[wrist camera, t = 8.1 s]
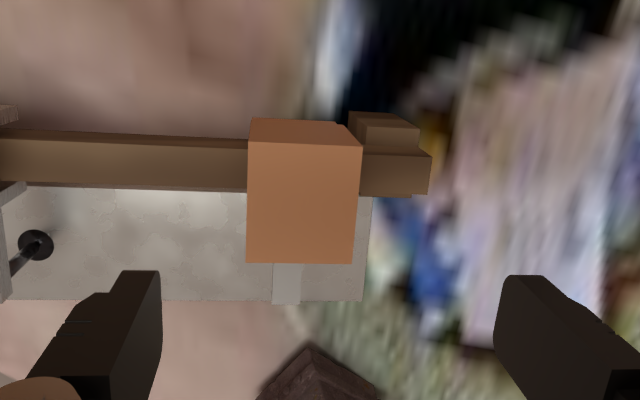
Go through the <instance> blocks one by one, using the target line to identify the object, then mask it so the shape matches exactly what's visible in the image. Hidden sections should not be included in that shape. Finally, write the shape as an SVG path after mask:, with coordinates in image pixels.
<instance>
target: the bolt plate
mask: <svg viewBox="0 0 640 400" xmlns="http://www.w3.org/2000/svg"><path fill="white" fill-rule="evenodd" d="M26 183H27V190H26V191H25V192H23V193H22V194H20V195H19V196H17V197H16V198H14V199H13V200H11V201H10V202H8V203H7V204H5V205H3V206H2V207H1V210H2V217H3V224H4V231H5V239H6V246H7V253H8V260H10V259H11V258H12V257H13V256H15V255H16V254H17V253H18V252H19V251H20V250H21V249H22V248H24V247H25V246H26V245H27V244H28V243H36V244H37V245H38V246H39V252H38V253H37V254H36V255H35V256H34V257H32V258H31V259H30V260H29V261H28V262H27V263H26V264H25V265H24V266H23V267H22V268H21V269H20V270H19V271H18V272H17V273H16V274H15V275H14V276H13V277H12V278H11V282H12V289H13V293H12V294H11V295H10V296H9V297H8V298H7V299H6V300H84V299H86V298H87V297H89V296H90V295H92V294H93V293H95V292H109V291H110V290H111V288H112V286H113V285H114V283H115V281H116V280H117V278H118V276H119V275H120V273H121V271H122V270H158V271H159V273H160V279H161V300H203V301H272V297H271V292H272V269H273V263H245V258H246V215H247V189H240V188H210V187H179V186H149V185H118V184H88V183H58V182H27V181H26ZM372 204H373V197H364V196H360V195H358V205H357V215H356V226H355V236H354V247H353V257H352V264H302V275H301V291H300V301H362V298H363V288H364V279H365V270H366V260H367V251H368V241H369V232H370V223H371V213H372Z"/></svg>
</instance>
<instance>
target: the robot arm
mask: <svg viewBox="0 0 640 400" xmlns="http://www.w3.org/2000/svg"><path fill="white" fill-rule="evenodd" d="M162 342H163V325H162V300H161V279H160V273H159V271H158V270H122V271H121V273H120V275H119V276H118V278H117V280H116V281H115V283H114V285H113V286H112V288H111V290H110V291H109V292H95V293H93V294H92V295H90V296H89V297H87V298H86V299H84V300H83V301H81V302H80V303H78V304H77V305H75V307H74V308H73V310H72V311H71V313H70V314H69V316H68V317H67V318H66V320H65V323H64V324H62V326H61V327H60V329H59V330H58V332H57V333H56V337H53V339H52V340H51V342H50V343H49V345H48V346H47V348H46V349H45V350H44V352H43V353H42V355H41V356H40V358H39V359H38V361H37V362H36V364H35V365H34V366H33V368H32V369H31V371H30V372H29V374H28V375H27V377H26V378H25V379H23V380H19V381H16V382H13V383H10V384H8V385H5V386H3V387H1V388H0V400H148V397H149V394H150V391H151V387H152V384H153V381H154V378H155V375H156V372H157V368H158V365H159V362H160V358H161V352H162ZM493 345H494V349H495V353H496V355H497V358H498V359H499V361H500V362H501V364H502V365H503V366H504V368H505V369H506V371H507V372H508V373H509V375H510V376H511V378H512V379H513V380H514V382H515V383H516V384H517V386H518V387H519V389H520V390H521V391H522V393H523V394H524V396H525V397H526V398H527V400H640V353H639V352H638V351H637V350H636V349H635V348H633V347H632V346H631V345H630V344H629V343H628V342H626V341H625V340H624V339H623V338H622V337H620V336H619V335H615V331H613V330H612V329H611V328H610V327H609V326H608V325H606V324H605V323H602V320H601V319H599V318H598V317H597V316H596V315H595V314H594V313H592V312H591V311H590V310H589V309H588V308H587V307H585V306H583V305H581V304H579V303H577V302H575V301H574V300H572V299H570V298H568V297H567V296H566V295H565V294H564V293H562V292H561V291H560V290H559V289H558V288H557V287H555V286H554V285H553V284H552V283H551V282H550V281H549V280H547V279H546V278H545V277H544V276H541V275H509V276H508V277H507V278H506V279H505V281H504V283H503V287H502V292H501V297H500V302H499V307H498V312H497V317H496V321H495V326H494V331H493Z"/></svg>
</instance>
